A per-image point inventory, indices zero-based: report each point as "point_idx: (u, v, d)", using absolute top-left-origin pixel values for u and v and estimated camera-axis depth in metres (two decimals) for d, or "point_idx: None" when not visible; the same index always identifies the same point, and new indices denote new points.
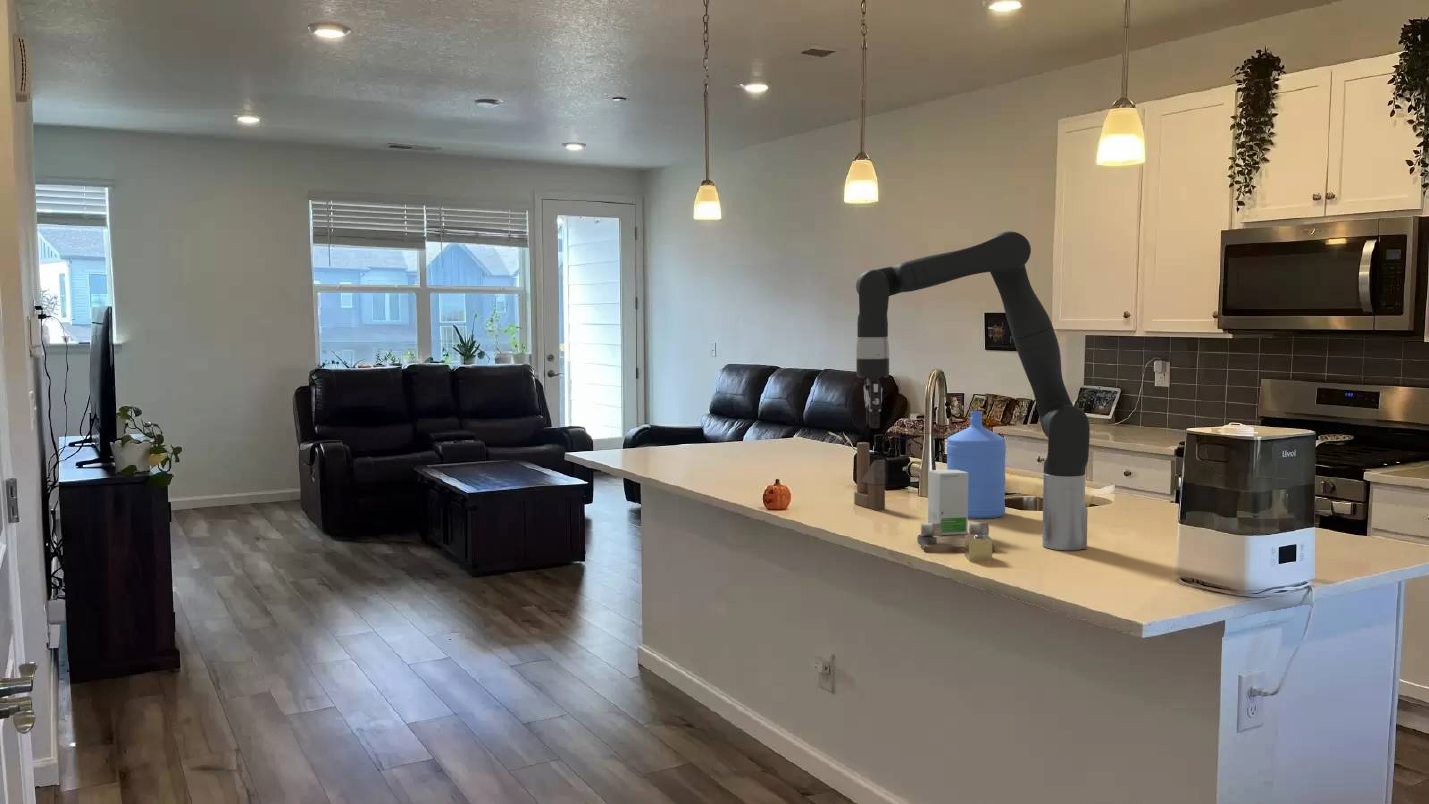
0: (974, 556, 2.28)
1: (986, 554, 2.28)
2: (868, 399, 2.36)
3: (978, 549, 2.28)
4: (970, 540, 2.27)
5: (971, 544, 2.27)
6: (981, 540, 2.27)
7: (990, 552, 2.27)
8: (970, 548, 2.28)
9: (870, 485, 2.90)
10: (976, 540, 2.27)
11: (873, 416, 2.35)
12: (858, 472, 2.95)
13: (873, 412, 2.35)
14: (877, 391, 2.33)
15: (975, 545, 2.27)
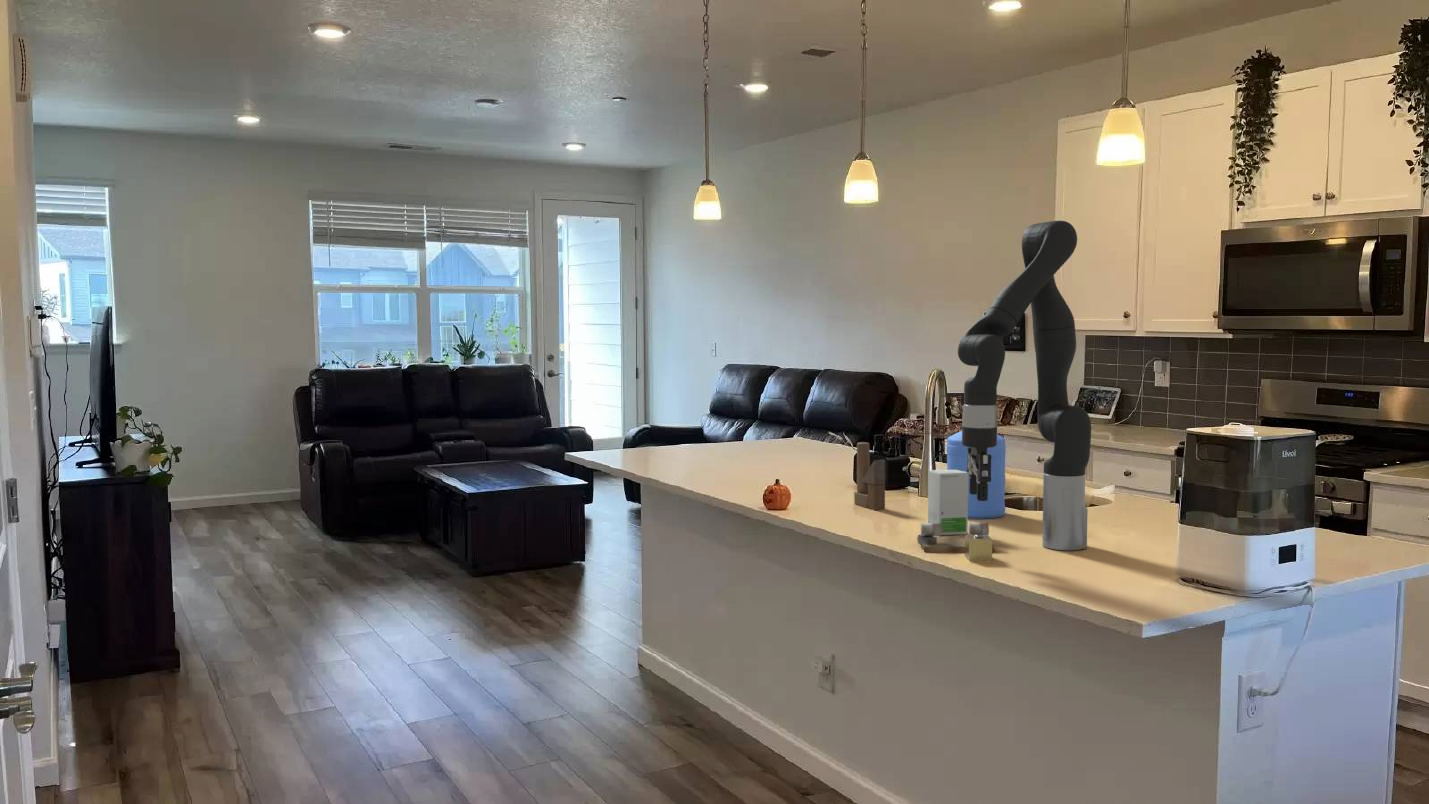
0: (974, 556, 2.28)
1: (986, 554, 2.28)
2: (975, 470, 2.25)
3: (978, 549, 2.27)
4: (970, 540, 2.27)
5: (971, 544, 2.27)
6: (981, 540, 2.27)
7: (990, 552, 2.27)
8: (970, 548, 2.28)
9: (870, 485, 2.90)
10: (976, 540, 2.27)
11: (981, 488, 2.24)
12: (858, 472, 2.95)
13: (981, 484, 2.23)
14: (987, 463, 2.22)
15: (975, 545, 2.27)
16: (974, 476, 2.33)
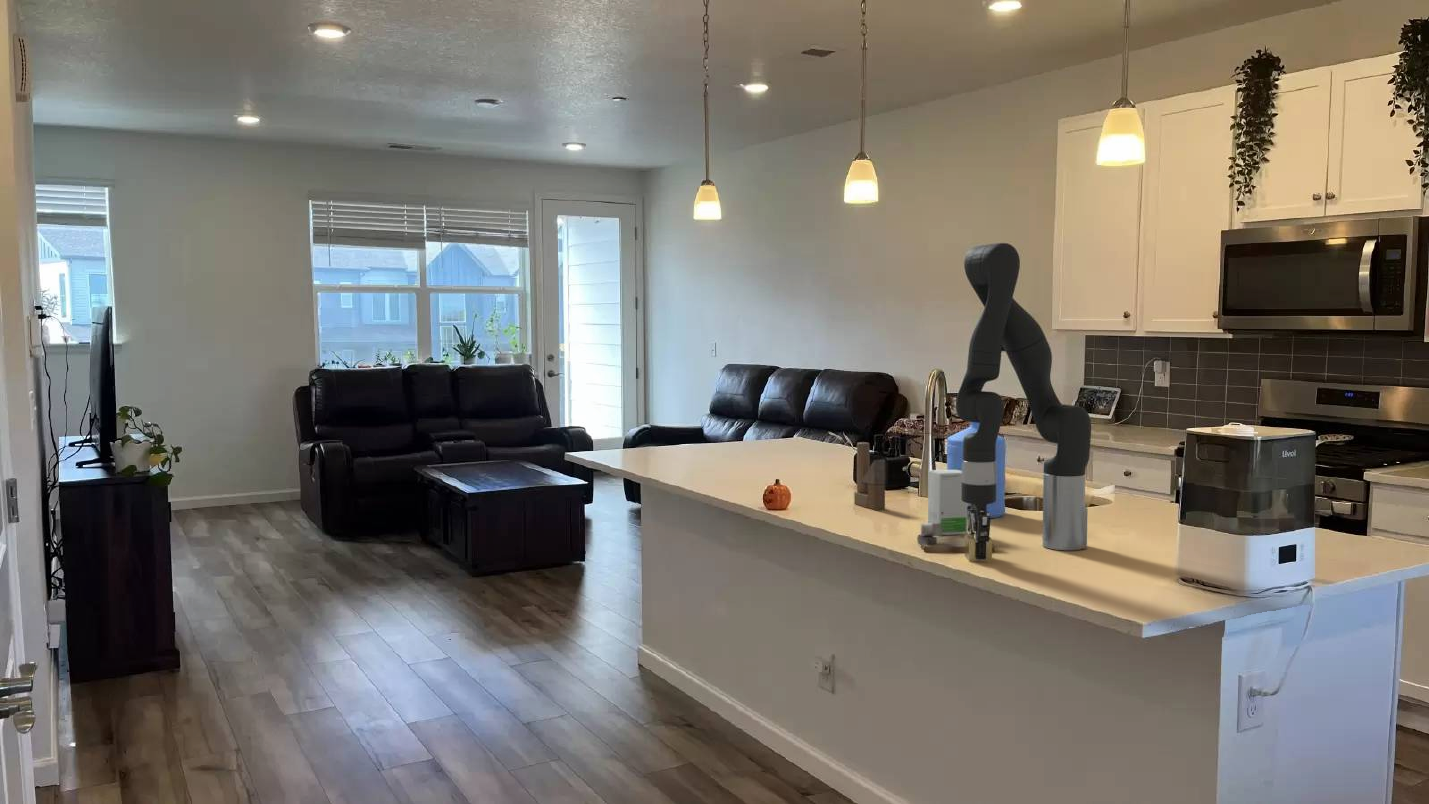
0: (974, 556, 2.28)
1: (986, 554, 2.27)
2: (974, 529, 2.27)
3: None
4: (970, 540, 2.27)
5: (971, 544, 2.27)
6: None
7: (990, 552, 2.27)
8: (970, 548, 2.28)
9: (870, 485, 2.90)
10: None
11: (979, 547, 2.26)
12: (858, 472, 2.95)
13: (979, 543, 2.26)
14: (986, 525, 2.23)
15: (975, 545, 2.27)
16: None
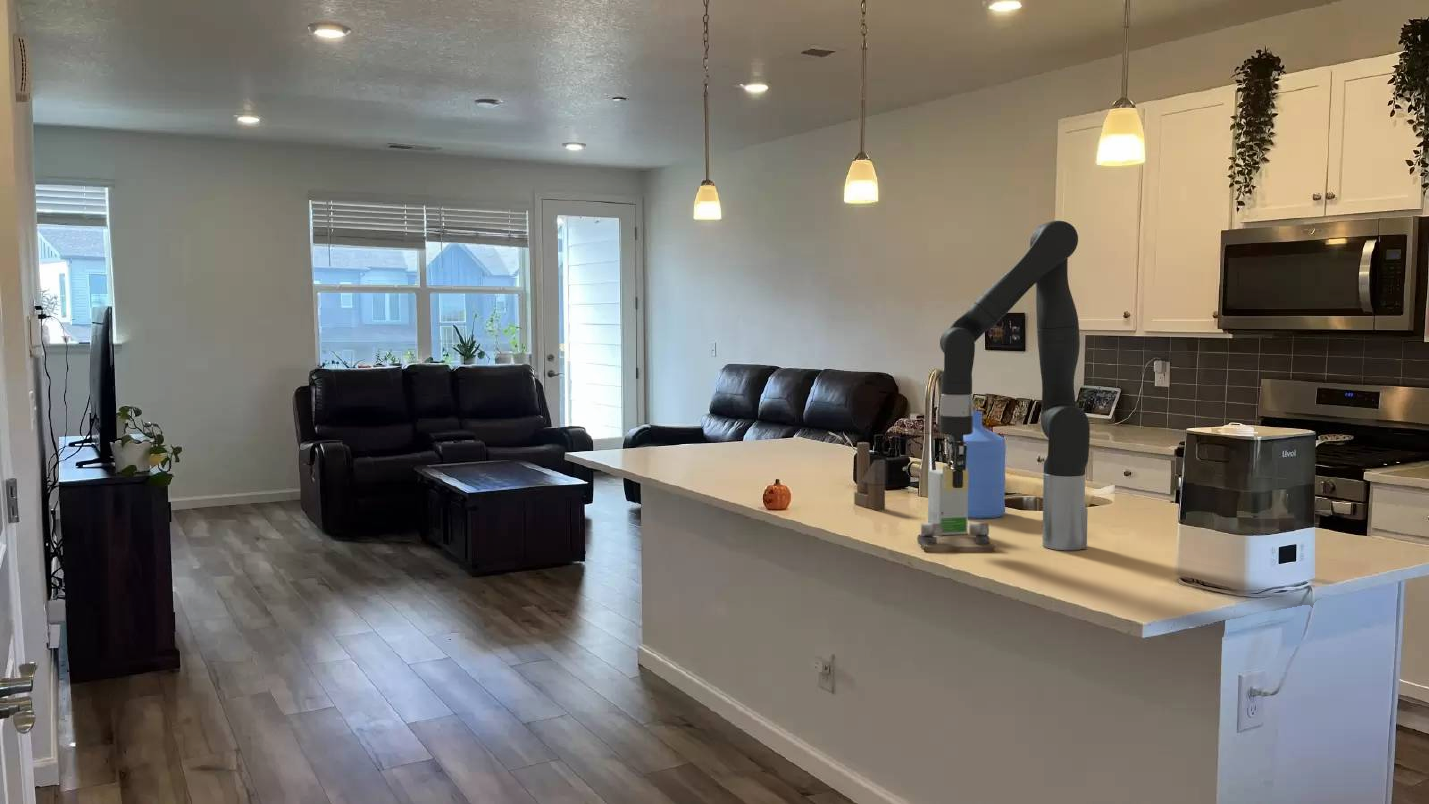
0: (951, 485, 2.39)
1: None
2: (952, 459, 2.38)
3: None
4: (947, 469, 2.38)
5: (948, 473, 2.38)
6: None
7: (966, 481, 2.38)
8: (947, 477, 2.38)
9: (870, 485, 2.90)
10: None
11: (956, 476, 2.37)
12: (858, 472, 2.95)
13: (957, 472, 2.37)
14: (962, 454, 2.34)
15: (952, 474, 2.38)
16: None
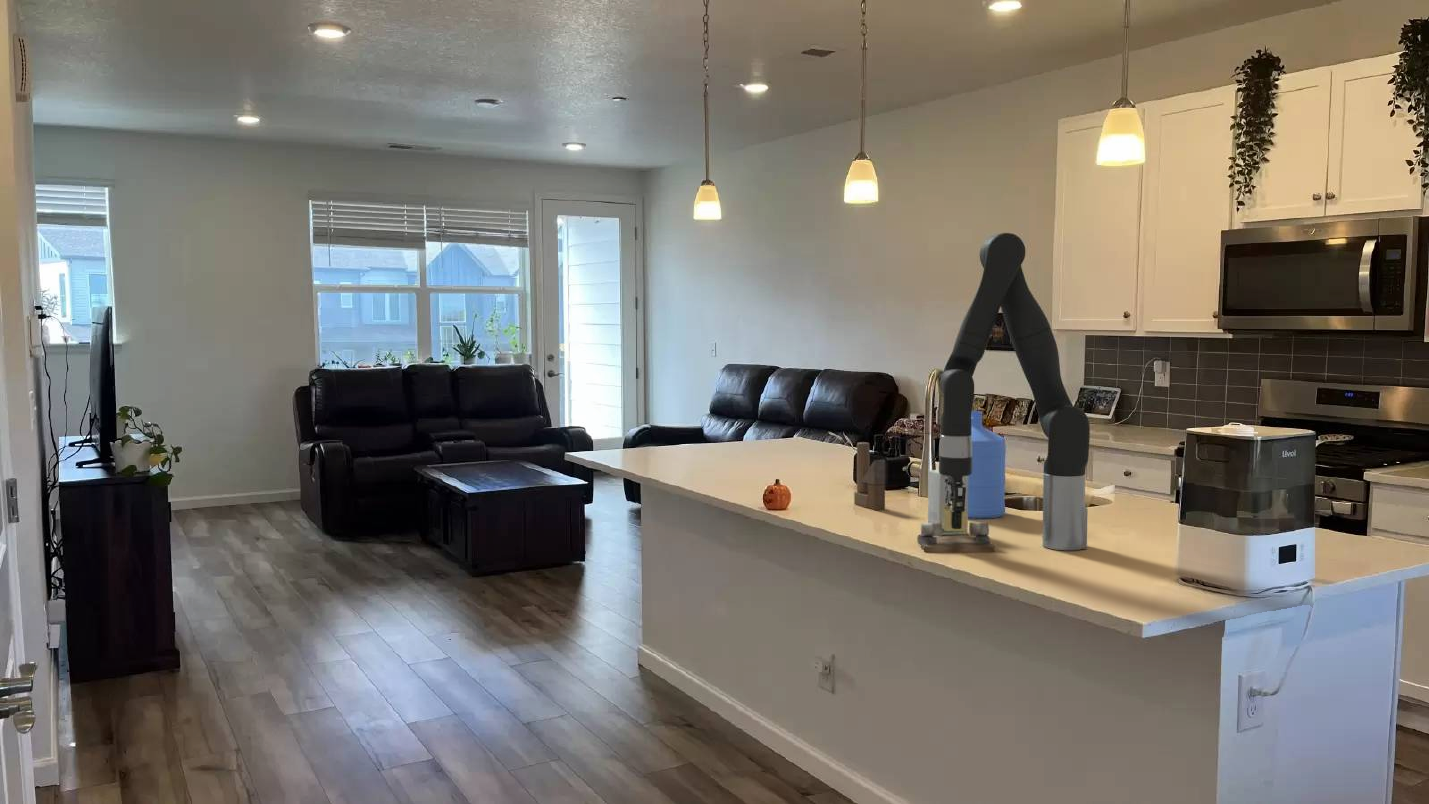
0: (950, 526, 2.39)
1: None
2: (951, 500, 2.38)
3: None
4: (946, 510, 2.39)
5: (947, 514, 2.39)
6: None
7: (965, 522, 2.39)
8: (946, 518, 2.39)
9: (870, 485, 2.90)
10: None
11: (955, 517, 2.38)
12: (858, 472, 2.95)
13: (955, 513, 2.38)
14: (961, 495, 2.35)
15: (951, 515, 2.39)
16: None
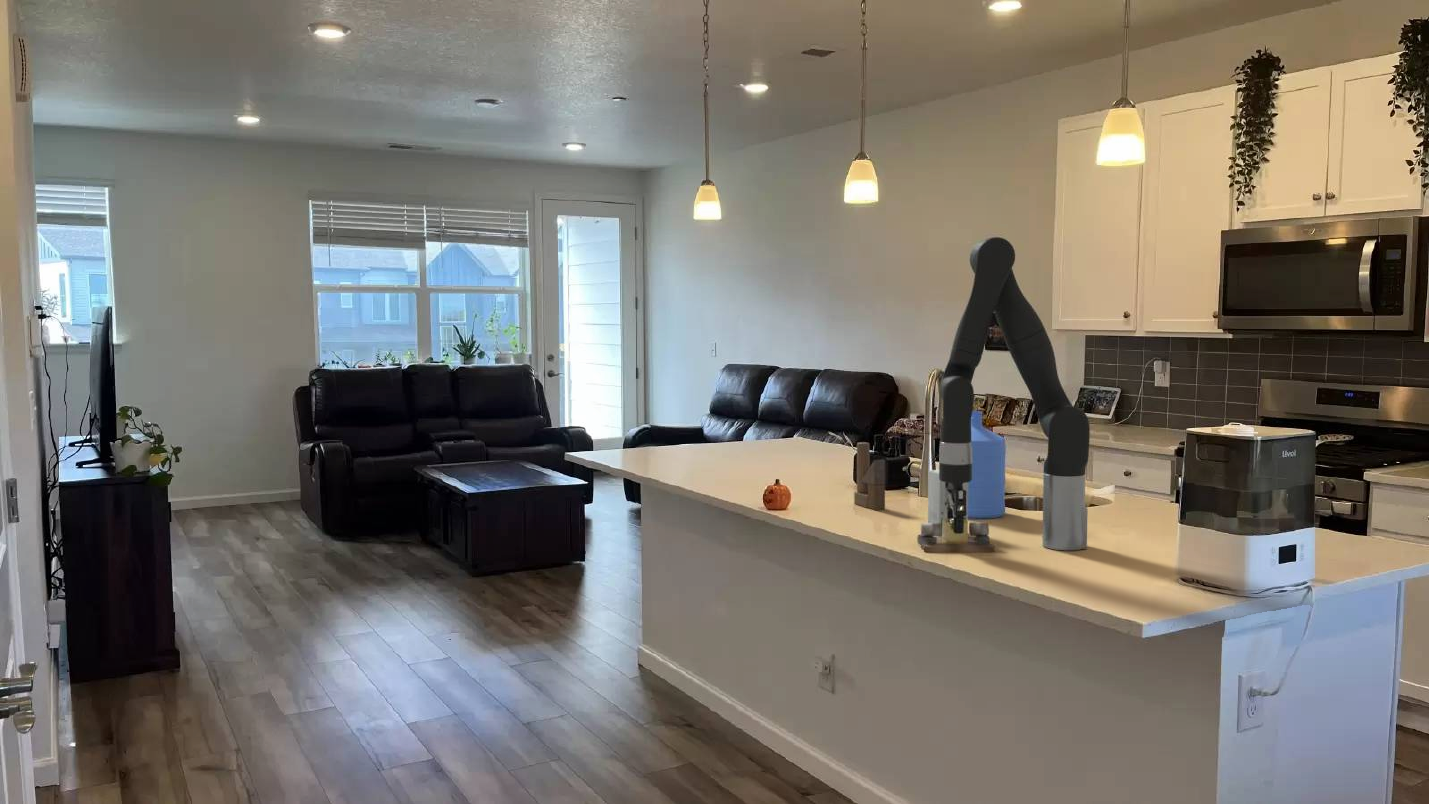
0: (951, 538, 2.40)
1: (962, 537, 2.40)
2: (952, 504, 2.38)
3: None
4: (947, 523, 2.39)
5: (948, 527, 2.39)
6: None
7: (966, 535, 2.39)
8: (947, 531, 2.40)
9: (870, 485, 2.90)
10: (952, 523, 2.39)
11: (957, 522, 2.37)
12: (858, 472, 2.95)
13: (957, 518, 2.36)
14: (962, 498, 2.34)
15: (951, 528, 2.39)
16: (951, 509, 2.46)
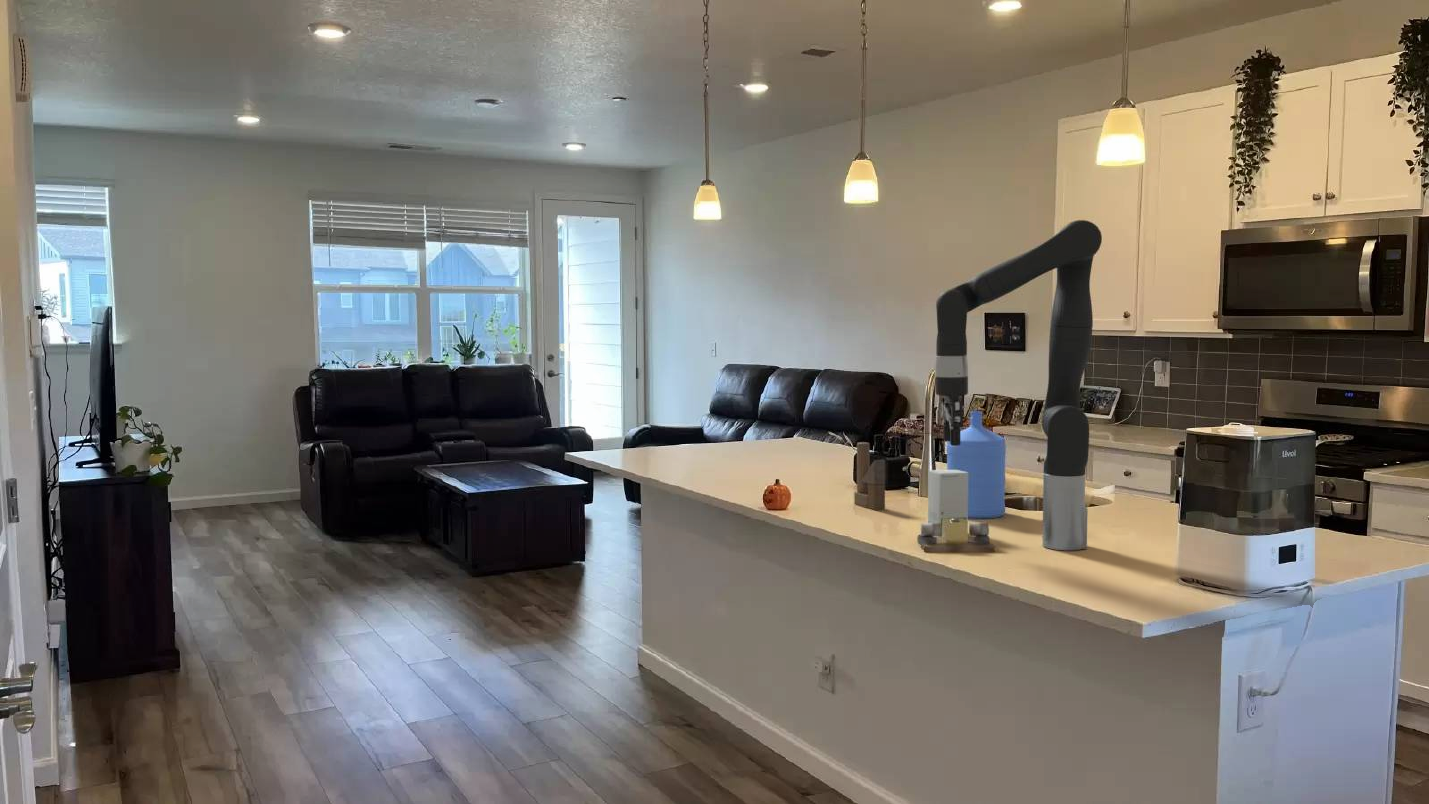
0: (951, 538, 2.40)
1: (962, 537, 2.40)
2: (948, 417, 2.40)
3: (955, 532, 2.39)
4: (947, 523, 2.39)
5: (948, 527, 2.39)
6: (957, 523, 2.39)
7: (966, 535, 2.39)
8: (947, 531, 2.40)
9: (870, 485, 2.90)
10: (952, 523, 2.39)
11: (954, 434, 2.39)
12: (858, 472, 2.95)
13: (954, 430, 2.38)
14: (959, 409, 2.37)
15: (951, 528, 2.39)
16: (948, 424, 2.48)
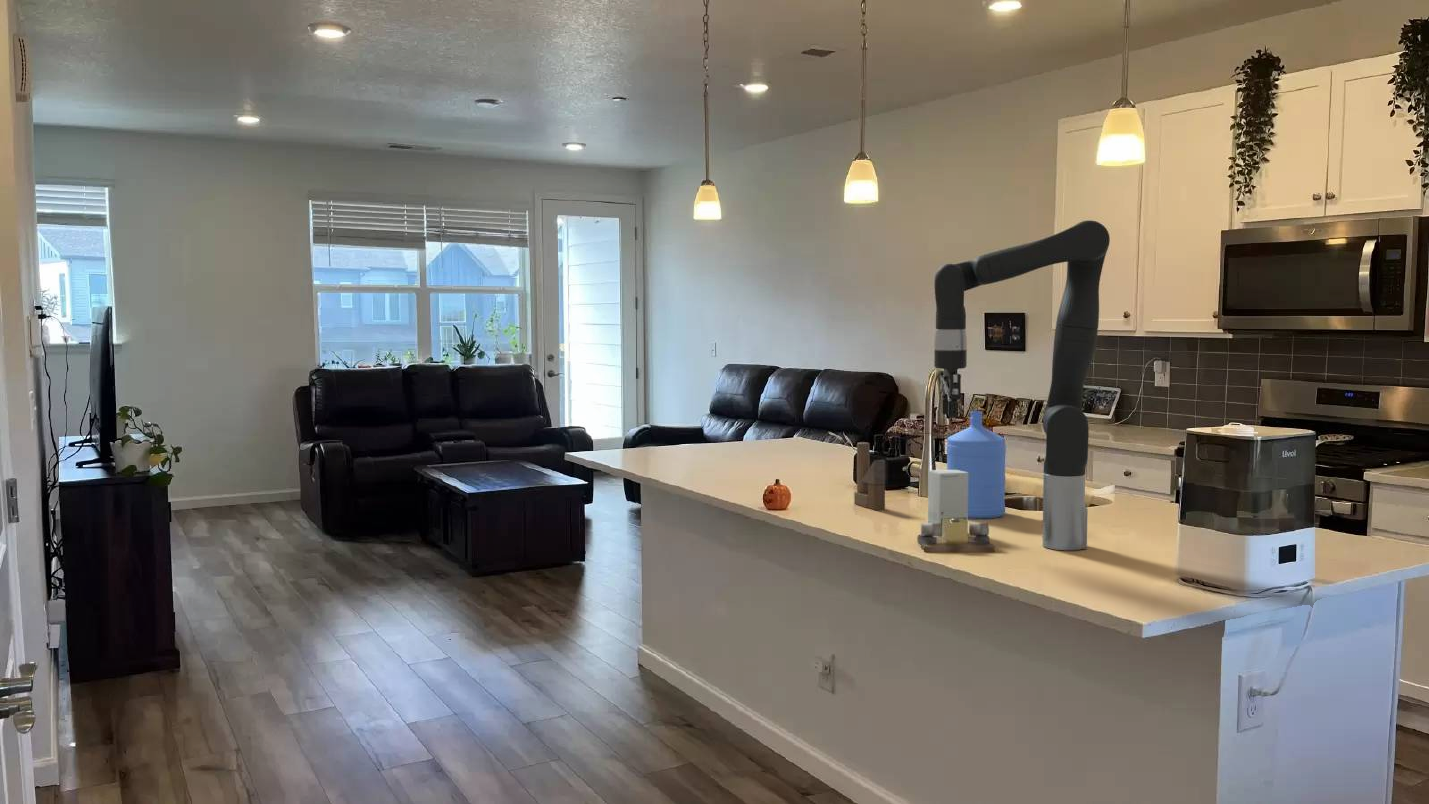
0: (951, 538, 2.40)
1: (962, 537, 2.40)
2: (947, 389, 2.43)
3: (955, 532, 2.39)
4: (947, 523, 2.39)
5: (948, 527, 2.39)
6: (957, 523, 2.39)
7: (966, 535, 2.39)
8: (947, 531, 2.40)
9: (870, 485, 2.90)
10: (952, 523, 2.39)
11: (952, 406, 2.42)
12: (858, 472, 2.95)
13: (952, 402, 2.42)
14: (957, 381, 2.40)
15: (951, 528, 2.39)
16: (946, 397, 2.51)
